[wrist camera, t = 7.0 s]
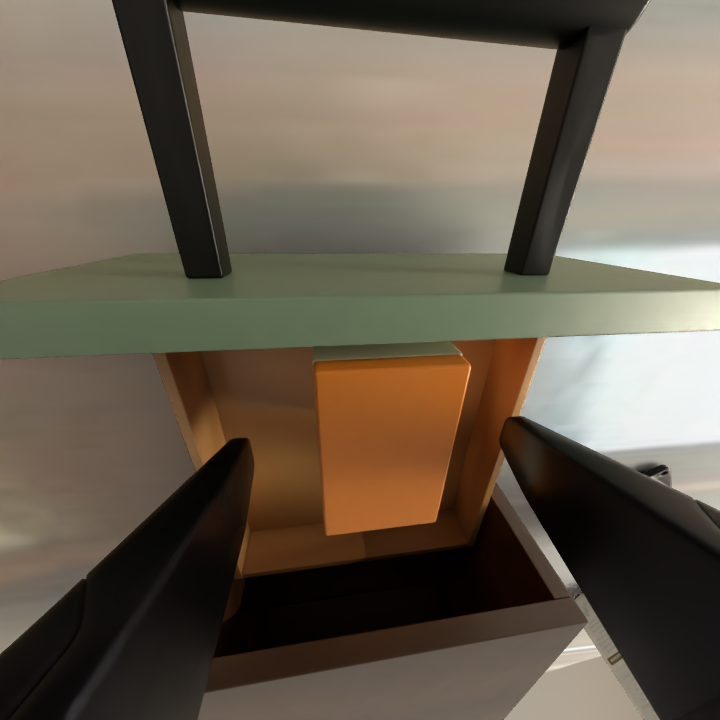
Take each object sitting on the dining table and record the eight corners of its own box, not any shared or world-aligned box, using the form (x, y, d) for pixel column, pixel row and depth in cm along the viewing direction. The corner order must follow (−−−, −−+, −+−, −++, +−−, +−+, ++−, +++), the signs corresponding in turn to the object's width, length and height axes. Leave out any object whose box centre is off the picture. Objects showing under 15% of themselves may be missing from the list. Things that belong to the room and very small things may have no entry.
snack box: (315, 296, 11) (311, 372, 5) (401, 294, 11) (474, 364, 6) (321, 410, 13) (324, 538, 8) (391, 405, 14) (437, 523, 8)
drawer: (55, 20, 7) (-955, -733, 1) (597, 71, 9) (1058, -169, 3) (227, 528, 17) (181, 684, 11) (469, 500, 19) (533, 620, 13)
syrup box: (566, 605, 33) (720, 847, 20) (598, 578, 31) (795, 832, 18) (600, 605, 35) (763, 831, 22) (633, 579, 32) (838, 815, 20)
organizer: (218, 470, 16) (125, 707, 8) (472, 446, 18) (589, 621, 10) (259, 601, 24) (230, 794, 16) (438, 575, 26) (491, 734, 18)
